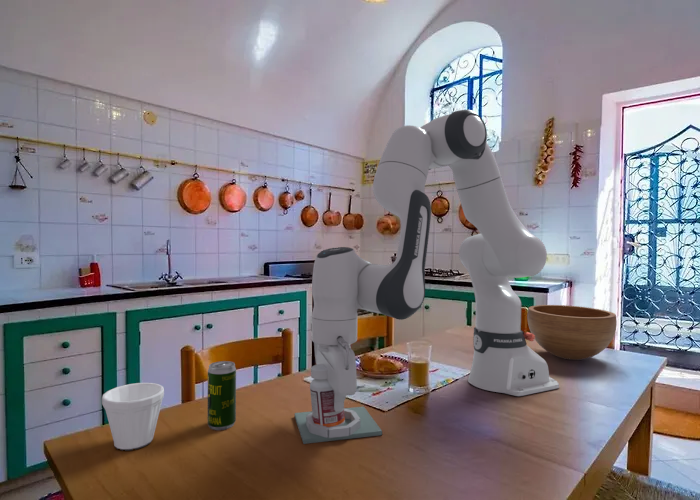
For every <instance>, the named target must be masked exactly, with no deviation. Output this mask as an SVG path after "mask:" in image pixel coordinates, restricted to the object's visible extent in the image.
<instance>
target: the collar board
mask: <svg viewBox="0 0 700 500" xmlns="http://www.w3.org/2000/svg"><path fill="white" fill-rule="evenodd" d="M344 416H345V423H344V424H343V425H342V426H338V427H326V426H322V425H319V424H315V423H314V421H313V415H312V410H311V411H303V412H294V419H295V422H296V425H297V429H298V432H299V434H300V438H301V440H302V443H303V445H307V444H314V443H323V442H333V441H341V440H349V439H359V438H366V437H367V438H369V437H376V436H382V435H383V430H382V429H381V427H380V426H379V424H377V422H376V421H375V420H374V418H373V417H372V415H371V414H370V413H369V412H368V410H367V408H365V406H357V407H356V406H355V407H354V406H353V407H344Z"/></svg>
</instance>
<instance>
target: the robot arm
mask: <svg viewBox="0 0 700 500" xmlns="http://www.w3.org/2000/svg"><path fill="white" fill-rule="evenodd" d="M487 140H488V133H487V127H486V123H485V121H484V120H483V118H482V117H481V116H480V115H479V114H478V113H477V112H476V111H474V110H472V109H459V110H456V111H453V112H451V113H450V114H449V113H448V114H445V115H443V116H440V117H436V118H434V119H432V120H430V121H429V122H427V123H426V124H423V125H421V126H419V127H418V126H416V125H402V126H400V127H398V128H396V129H395V131H393V133H392V135H391V136H390V137H389V138H388V141H387V143H386V146H384V147H385V148H384V150H383V152H382V154H381V157H380V160H379V162H378V165H377V169H376V171H375V175H374V178H373V182H372V193H373V196H374V198H375V201H376V203H378V204H379V206H380V207H382V208H383V209H384V210H386V211H387V212H389V213H391V214H393V215H394V216H397V217H399V220H400V225H401V226H400V232H399V239H398V246H397V254H396V258H395V261H393V263H391V264H390V265H388V264H378V263H371V262H370V261H368V260H366V259H364V258H362V257H361V256H359V255H358V254H357V253H356V251H355V249H354V248H352V247H348V246H340V247H338V246H337V247H331V248H326V249H323V250H321V251H320V252H318V253H317V255H316V257H315V259H314V263H313V268H312V279H311V280H312V281H311V296H312V299H313V308H312V309H313V310H312V312H311V323H310V332H311V341H312V342H313V346H314V357H315V363H316V364H315V365H318V364H323V365H324V366H325V368H326V369H327V381H328V383H329V384H330V386H331V387H332V389H333V391H334V399H333V408H334V410H335V411H343V410H344V408H345V400H346V397H347V396H353V395H355V394H356V392H357V387H358V386H357V385H358V383H357V361H356V355H355V351H354V350H353V349H352V347H351V345H352V344H354V343H356V342H357V341H358V310H359V309H360V310H363V311H368V312H371V313H376V314H380V315H381V314H382V315H384V316H385V317H386V316H387V317H390V318H393V319H396V320H399V321H400V320H401V321H403V320H407V319H408V318H409V319H410V317H412V316H413V315H414V314H415V313H417V312H418V311H419V309H420V308H421V306H422V305H423V303H424V301H425V296H426V279H425V278H426V277H425V272H426V261H427V254H428V245H429V236H430V228H431V219H432V218H431V217H432V208H431V207H432V205H431V200H430V199H429V197H428V195H427V194H426V191H425V189H426V188H425V187H426V183H427V179H428V175H429V171H430V170H433V169H439V168H443V167H449V168H450V169H451V171H452V176H453V180H454V185H455V188H456V192H457V196H458V199H459V202H460V204H461V205H460V206H461V209H462V211H463V215H464V217H465V219H466V220H467V221H468V223H470V224H471V225H473V226H474V227H475V228H476V229H477V231H478V232H479V233H478V234H474V235H471V236H468V237H466V238H464V240H462V242H461V244H460V246H459V249H458V258H459V261H460V263H461V264H462V266H463V267H464V268H465V269H466V272H467V273H468V275H469V279H470V281H471V284H472V288H473V294H474V298H475V327H473V337H472V338H473V339H472V341H473V342H472V343H473V358H472V362H471V368H470V372H469V376H468V378H467V381H468V383H469V384H471V385H472V386H474V387H476V388H479V389H482V390H485V391H490V392H494V393H495V392H496V393H500V394H501V393H502V394H506V395H510V396H515V397H523V396H527V395H532V394H536V393H537V394H538V393H542V392H546V391H551V390H556V389H559V388H560V383H559V381H557V380H556V379H554V378H552V377H551V376H550V372H549V366H548V363H547V361H546V360H545V359H544V358H543V357H542V356H540V355H539V353H537V352H535V351H534V350H533V349H532V348H531V347H530V346H528V345H527V341H529V342H534V341H535V337H534V336H535V335H534V334H533V333H531V332H529V331H527V332H524V331H523V330H521V328H522V327H521V326H522V300H521V298H520V297H519V295H517V293H516V292H515V291H514V290H513V289H512V286H511V283H510V281H509V278H514V279H515V278H516V279H520V278H528V277H535V276H536V275H538V274H539V273H541V271H543V269H544V267H545V265H546V262H547V259H548V258H547V257H548V255H547V253H548V252H547V249H546V246H545V244H544V242H543V241H542V239H540V238H538V237H537V236H536V235H534V234H532V232H531V231H529V230H528V228H526V226H525V225H524V224H523V223H522V222H521V220H520V219H519V218H518V216H517V214H516V213H515V211H514V209H513V207H512V206H511V203H510V200H509V196H508V193H507V190H506V187H505V184H504V182H503V178H502V174H501V171H500V167H499V164H498V162H497V159H496V157H495V155H494V153H493V151H492V149H491V148H490V145H489V143H488V142H487Z"/></svg>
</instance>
